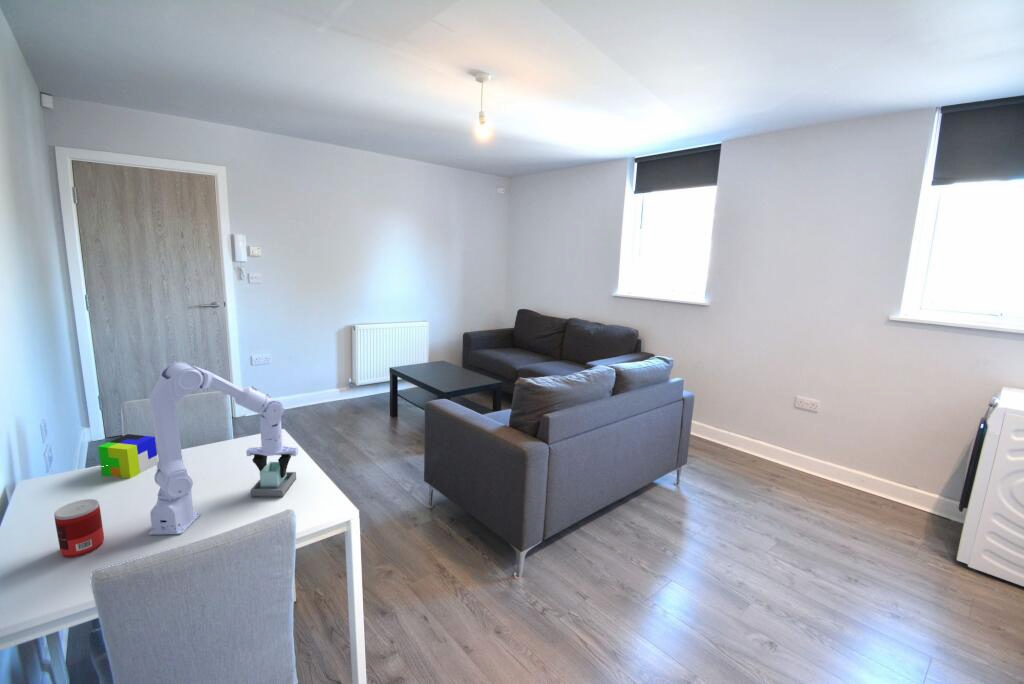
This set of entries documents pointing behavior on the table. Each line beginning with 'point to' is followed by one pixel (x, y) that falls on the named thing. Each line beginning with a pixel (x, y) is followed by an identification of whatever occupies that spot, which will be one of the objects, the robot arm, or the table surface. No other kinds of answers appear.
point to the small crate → (271, 475)
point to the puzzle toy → (128, 456)
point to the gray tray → (274, 491)
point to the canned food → (79, 527)
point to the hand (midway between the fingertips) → (274, 476)
